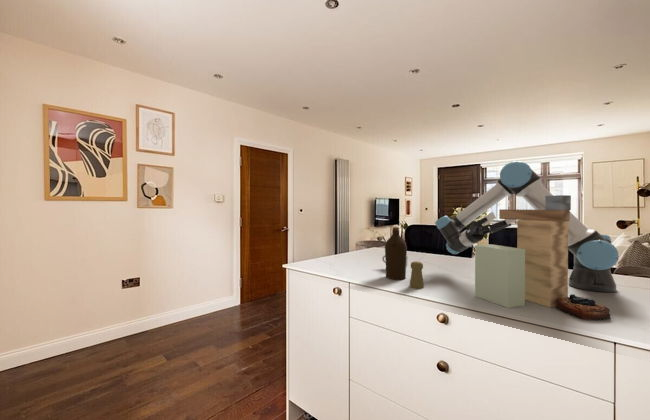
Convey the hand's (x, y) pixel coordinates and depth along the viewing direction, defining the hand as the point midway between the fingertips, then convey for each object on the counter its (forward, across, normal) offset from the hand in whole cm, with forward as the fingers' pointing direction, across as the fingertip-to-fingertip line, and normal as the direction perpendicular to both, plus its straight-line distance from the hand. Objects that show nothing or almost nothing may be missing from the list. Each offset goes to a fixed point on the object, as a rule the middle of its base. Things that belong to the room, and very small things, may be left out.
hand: (506, 214), depth 118 cm
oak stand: (-4, 0, -34) cm, 35 cm away
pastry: (+7, 0, -42) cm, 42 cm away
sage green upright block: (-8, +14, -32) cm, 36 cm away
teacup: (-59, +23, -2) cm, 64 cm away
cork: (-30, +33, -20) cm, 48 cm away
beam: (+8, 0, -6) cm, 10 cm away
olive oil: (-44, +33, -11) cm, 56 cm away
